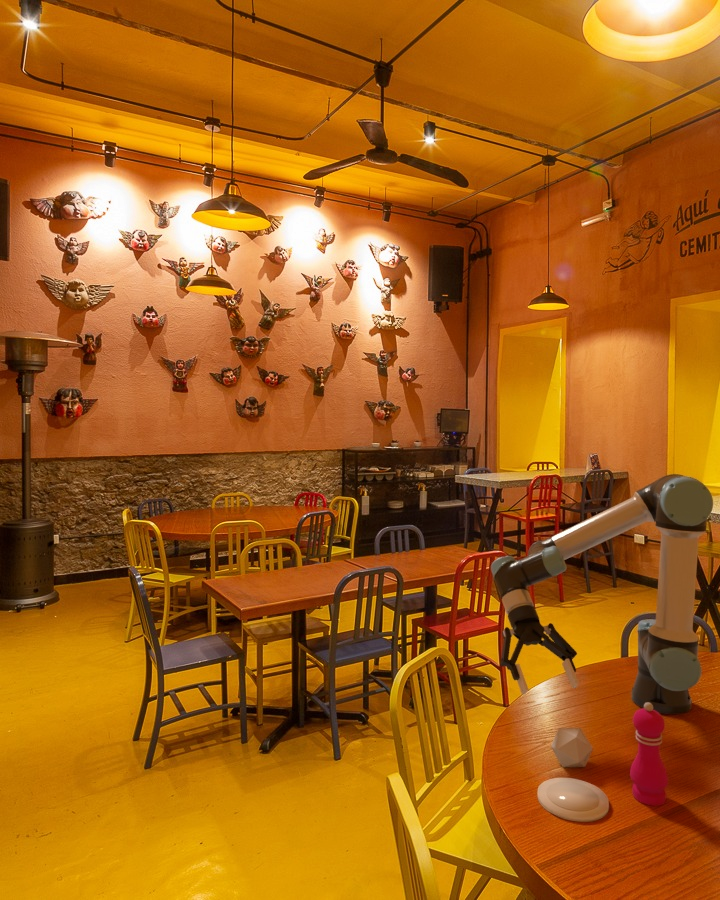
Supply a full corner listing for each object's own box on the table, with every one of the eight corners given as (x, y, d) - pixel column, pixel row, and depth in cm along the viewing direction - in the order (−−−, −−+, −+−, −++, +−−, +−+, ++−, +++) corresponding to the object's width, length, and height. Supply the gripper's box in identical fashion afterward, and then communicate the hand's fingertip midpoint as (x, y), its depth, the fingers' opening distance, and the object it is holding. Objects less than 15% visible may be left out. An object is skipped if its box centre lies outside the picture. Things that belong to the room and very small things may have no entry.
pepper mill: (666, 811, 125) (665, 713, 125) (627, 800, 129) (626, 705, 129) (670, 793, 131) (669, 699, 131) (633, 784, 135) (632, 692, 135)
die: (586, 781, 138) (603, 739, 141) (551, 759, 139) (568, 718, 142) (574, 775, 146) (590, 736, 148) (540, 754, 147) (557, 716, 150)
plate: (582, 778, 138) (582, 772, 138) (623, 815, 124) (623, 809, 124) (525, 787, 135) (525, 782, 135) (560, 826, 121) (560, 821, 121)
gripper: (557, 614, 171) (589, 690, 157) (472, 621, 166) (498, 701, 151) (568, 600, 166) (602, 677, 152) (481, 607, 160) (508, 688, 146)
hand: (550, 689), depth 152 cm, fingers open, 13 cm apart
